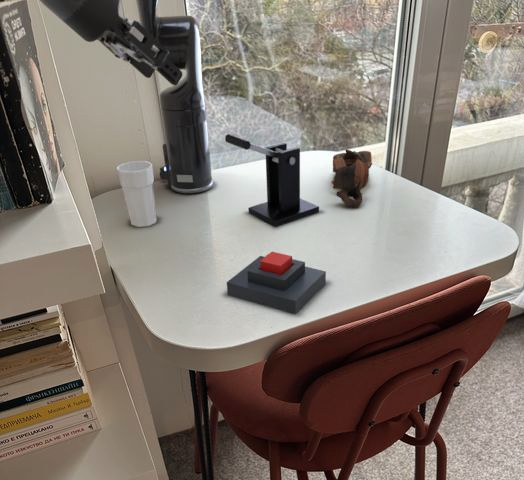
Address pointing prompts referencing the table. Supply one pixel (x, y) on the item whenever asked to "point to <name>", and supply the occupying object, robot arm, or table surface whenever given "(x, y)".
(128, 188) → the cup
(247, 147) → the lever
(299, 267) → the control block
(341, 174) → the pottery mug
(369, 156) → the brown curved piece
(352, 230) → the table surface
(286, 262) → the stop button
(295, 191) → the bracket
